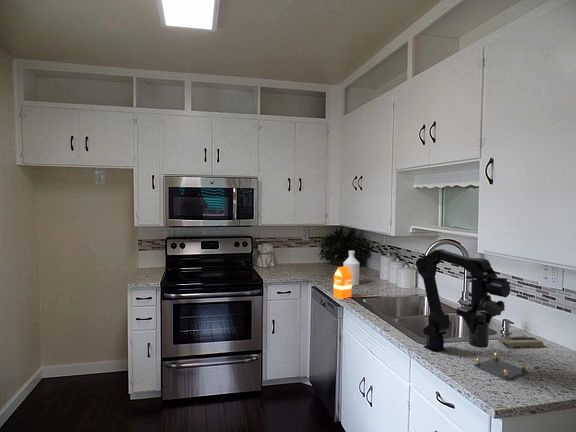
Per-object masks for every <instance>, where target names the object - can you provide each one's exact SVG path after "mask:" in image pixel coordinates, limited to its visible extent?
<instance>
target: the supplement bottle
mask: <svg viewBox="0 0 576 432" xmlns="http://www.w3.org/2000/svg"><path fill="white" fill-rule="evenodd" d="M476 317H478V319H477V320H476V321H475V331H474V334H472V333H471V332H470V330H469V329H468V344H469V345H470V346H472V347H475V348H481V349H485V348H488V346H489V335H490V327H489V326H490V323H489V324H488V323H487V322H486V321H485V320H486V315H485V314H483V313H480V312H479V313H477V315H476Z"/></svg>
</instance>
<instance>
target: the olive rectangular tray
mask: <svg viewBox="0 0 576 432" xmlns="http://www.w3.org/2000/svg"><path fill="white" fill-rule="evenodd" d="M498 343H500V344H502V345H504V346H505V347H507V348H508V349H514V348H518V349H531V348H532V349H533V348H535V349H536V348H544V342H543V340H540V339H539V338H538V339H537V338H535V337H533V336H531V337H530V336H529V337H528V336H518V337H517V336H514V337H498Z"/></svg>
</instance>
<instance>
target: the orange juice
mask: <svg viewBox="0 0 576 432" xmlns="http://www.w3.org/2000/svg"><path fill="white" fill-rule="evenodd" d="M352 287H353V286H352V275H351V273H350V271H349V268H348V266H344V267H343V266H338V267H337V269H336V270H335V273H334V275H333V298H335V299H339V300H344V298H346V299H349V298H348V297H351V298H352V289H353V288H352Z"/></svg>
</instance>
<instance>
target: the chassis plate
mask: <svg viewBox="0 0 576 432" xmlns="http://www.w3.org/2000/svg"><path fill="white" fill-rule="evenodd" d="M493 354H494V358H491V359H487V360H483V361H481V358H480V357H476V359H475V364H473V366H474V367H475V368H476V369H480V370H482V371H484V372H486V373H489V374H490V375H493V376H494V377H497V378H499V379H502V380H504V381H506V382H507V381H510V380H513V379H515V378H518V377H521V376H524V375H527V374H529V370H528V369H527V365H528V364H527V363H525V362H522V363H521V367H520V366H517V365H514V364H511V363H510V362H506V361H504V360H501V359H500V358H499V353H498V352H494V353H493Z"/></svg>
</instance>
